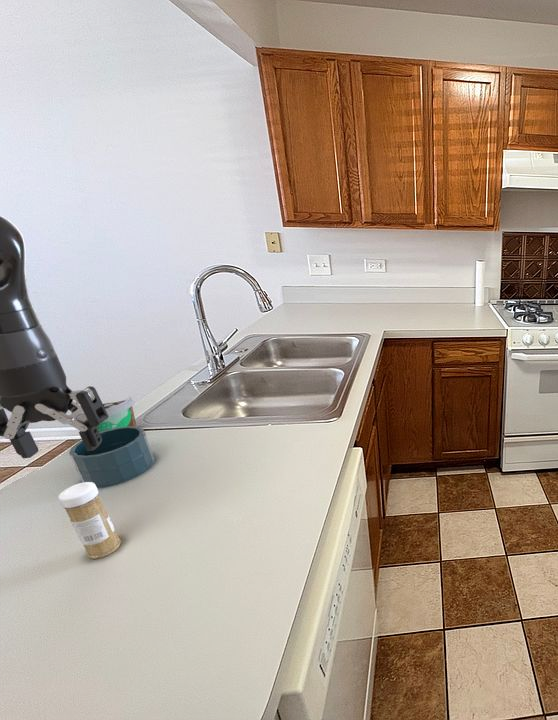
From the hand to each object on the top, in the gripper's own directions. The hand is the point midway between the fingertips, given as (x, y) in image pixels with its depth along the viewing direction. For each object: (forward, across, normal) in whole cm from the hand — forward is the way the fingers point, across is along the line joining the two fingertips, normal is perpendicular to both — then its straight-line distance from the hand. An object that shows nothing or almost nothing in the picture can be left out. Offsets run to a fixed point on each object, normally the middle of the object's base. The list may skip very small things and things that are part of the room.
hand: (63, 451), depth 64 cm
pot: (+21, +11, -26) cm, 35 cm away
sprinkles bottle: (+21, 0, 0) cm, 21 cm away
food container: (+21, +20, -41) cm, 50 cm away
